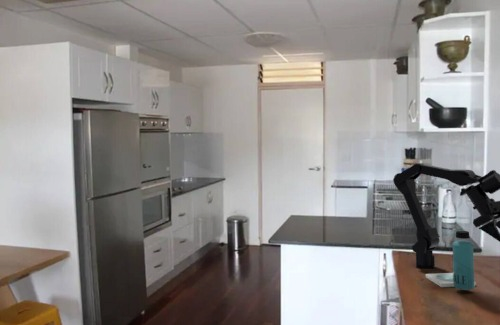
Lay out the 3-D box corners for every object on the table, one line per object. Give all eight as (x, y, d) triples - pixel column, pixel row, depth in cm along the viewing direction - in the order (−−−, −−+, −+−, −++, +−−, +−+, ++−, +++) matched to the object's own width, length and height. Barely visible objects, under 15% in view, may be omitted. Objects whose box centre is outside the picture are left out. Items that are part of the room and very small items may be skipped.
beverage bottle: (474, 289, 142) (473, 229, 141) (475, 295, 136) (474, 233, 135) (452, 287, 144) (451, 228, 144) (453, 293, 138) (451, 232, 138)
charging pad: (425, 277, 157) (425, 273, 157) (457, 275, 158) (457, 272, 158) (441, 287, 145) (441, 283, 145) (475, 285, 146) (475, 281, 146)
